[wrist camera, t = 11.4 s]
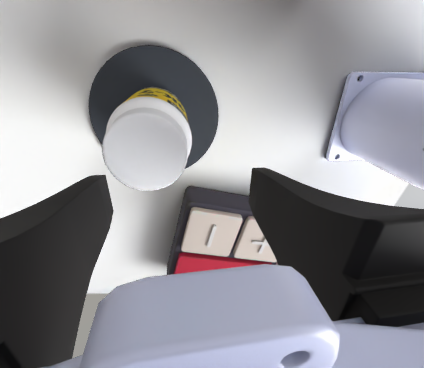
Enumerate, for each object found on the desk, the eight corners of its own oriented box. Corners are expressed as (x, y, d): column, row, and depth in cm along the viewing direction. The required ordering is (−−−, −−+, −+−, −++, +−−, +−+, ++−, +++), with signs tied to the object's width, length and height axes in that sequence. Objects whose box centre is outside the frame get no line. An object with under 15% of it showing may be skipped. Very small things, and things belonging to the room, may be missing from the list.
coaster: (219, 47, 17) (220, 47, 17) (216, 169, 22) (216, 171, 21) (74, 43, 15) (72, 43, 15) (105, 175, 20) (104, 177, 20)
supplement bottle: (196, 106, 18) (214, 137, 11) (170, 155, 20) (170, 211, 12) (139, 72, 16) (115, 82, 9) (115, 129, 18) (78, 175, 11)
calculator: (187, 205, 19) (341, 230, 22) (186, 181, 22) (317, 206, 26) (164, 294, 23) (294, 304, 26) (167, 262, 27) (280, 274, 30)
